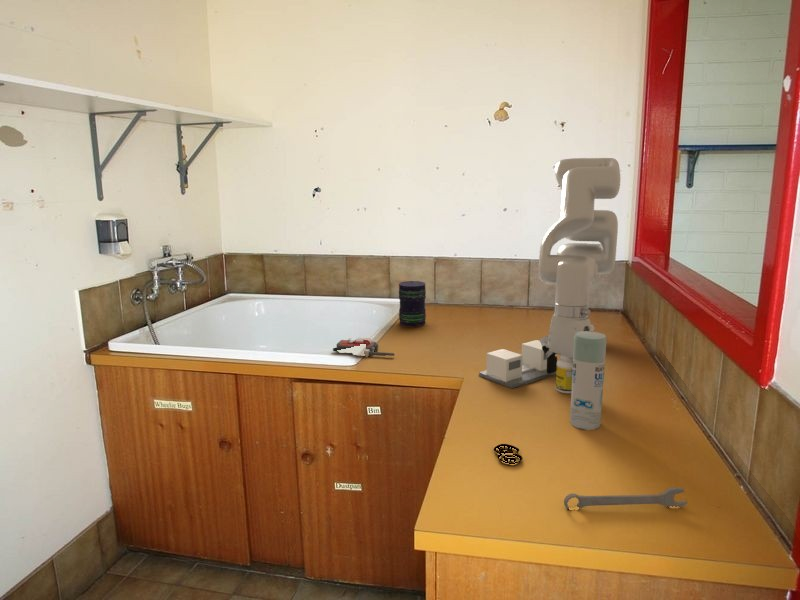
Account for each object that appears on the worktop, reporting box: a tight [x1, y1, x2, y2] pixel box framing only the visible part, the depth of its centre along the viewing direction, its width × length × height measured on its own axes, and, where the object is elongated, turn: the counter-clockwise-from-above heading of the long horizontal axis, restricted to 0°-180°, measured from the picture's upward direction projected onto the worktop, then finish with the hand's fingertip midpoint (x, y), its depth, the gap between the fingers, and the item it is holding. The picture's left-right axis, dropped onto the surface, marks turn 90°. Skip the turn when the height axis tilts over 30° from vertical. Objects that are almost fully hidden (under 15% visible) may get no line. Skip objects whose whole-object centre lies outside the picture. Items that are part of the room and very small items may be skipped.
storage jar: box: [398, 280, 427, 327], centre depth 207 cm, size 10×10×15 cm
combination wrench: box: [563, 486, 689, 510], centre depth 92 cm, size 4×1×20 cm
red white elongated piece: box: [332, 337, 395, 358], centre depth 175 cm, size 9×4×20 cm
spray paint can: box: [569, 331, 608, 431], centre depth 121 cm, size 6×6×20 cm
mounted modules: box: [485, 339, 557, 382], centre depth 154 cm, size 20×7×6 cm, turn 126°
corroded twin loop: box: [493, 443, 523, 464], centre depth 110 cm, size 5×8×1 cm, turn 2°
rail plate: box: [478, 364, 556, 389], centre depth 154 cm, size 20×12×2 cm, turn 126°
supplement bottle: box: [555, 355, 573, 394], centre depth 142 cm, size 5×5×10 cm
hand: (567, 377), depth 142 cm, fingers open, 9 cm apart
